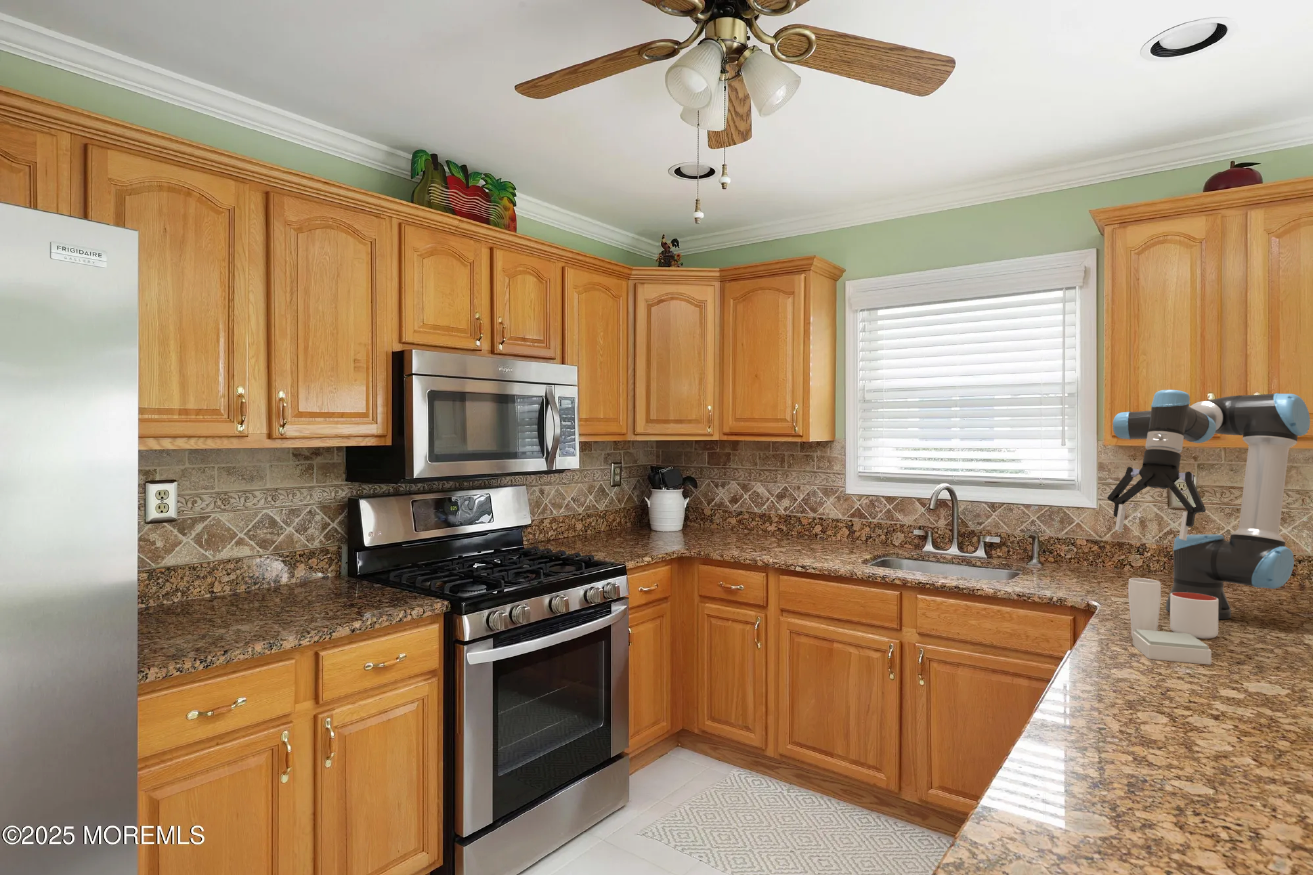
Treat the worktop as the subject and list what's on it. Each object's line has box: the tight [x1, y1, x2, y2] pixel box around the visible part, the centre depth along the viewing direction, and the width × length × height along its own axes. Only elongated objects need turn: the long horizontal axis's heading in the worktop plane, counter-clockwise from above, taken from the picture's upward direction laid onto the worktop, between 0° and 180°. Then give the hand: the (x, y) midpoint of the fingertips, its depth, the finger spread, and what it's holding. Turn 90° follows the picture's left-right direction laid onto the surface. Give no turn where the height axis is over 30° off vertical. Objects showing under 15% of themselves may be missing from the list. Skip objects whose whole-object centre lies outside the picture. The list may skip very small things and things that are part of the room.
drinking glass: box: [1127, 577, 1162, 639], centre depth 179 cm, size 7×7×15 cm
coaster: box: [1132, 629, 1212, 666], centre depth 167 cm, size 12×12×4 cm
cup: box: [1169, 592, 1219, 640], centre depth 185 cm, size 10×10×10 cm
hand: (1149, 534), depth 176 cm, fingers open, 13 cm apart
